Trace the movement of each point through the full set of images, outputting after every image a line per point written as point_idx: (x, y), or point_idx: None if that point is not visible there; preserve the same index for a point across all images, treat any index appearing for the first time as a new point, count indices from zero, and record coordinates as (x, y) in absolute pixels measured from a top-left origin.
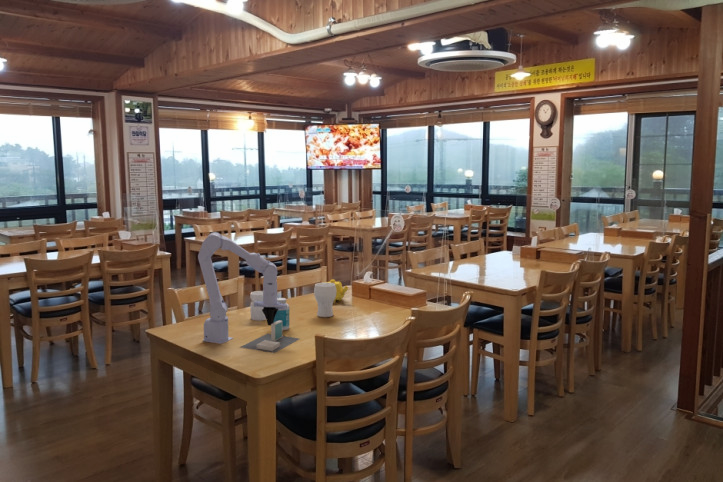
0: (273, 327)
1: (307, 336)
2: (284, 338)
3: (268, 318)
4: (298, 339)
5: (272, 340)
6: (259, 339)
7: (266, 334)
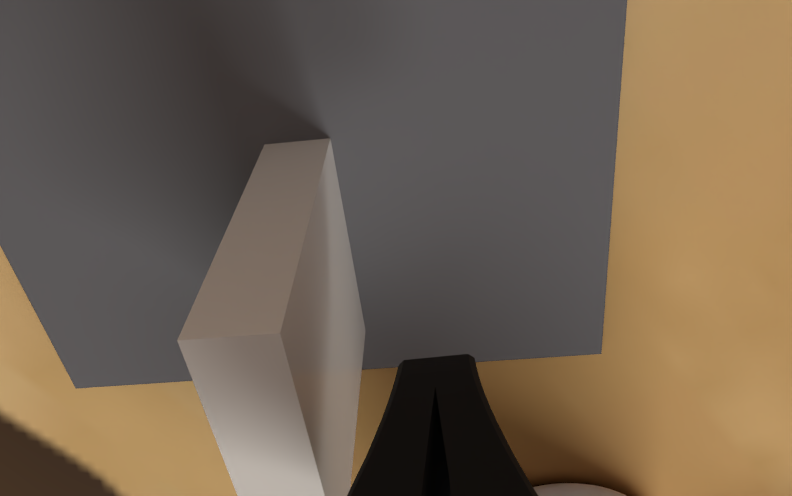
0: (233, 286)
1: (119, 481)
2: None
3: (451, 487)
4: (60, 354)
5: (306, 142)
6: (550, 82)
7: (589, 321)
